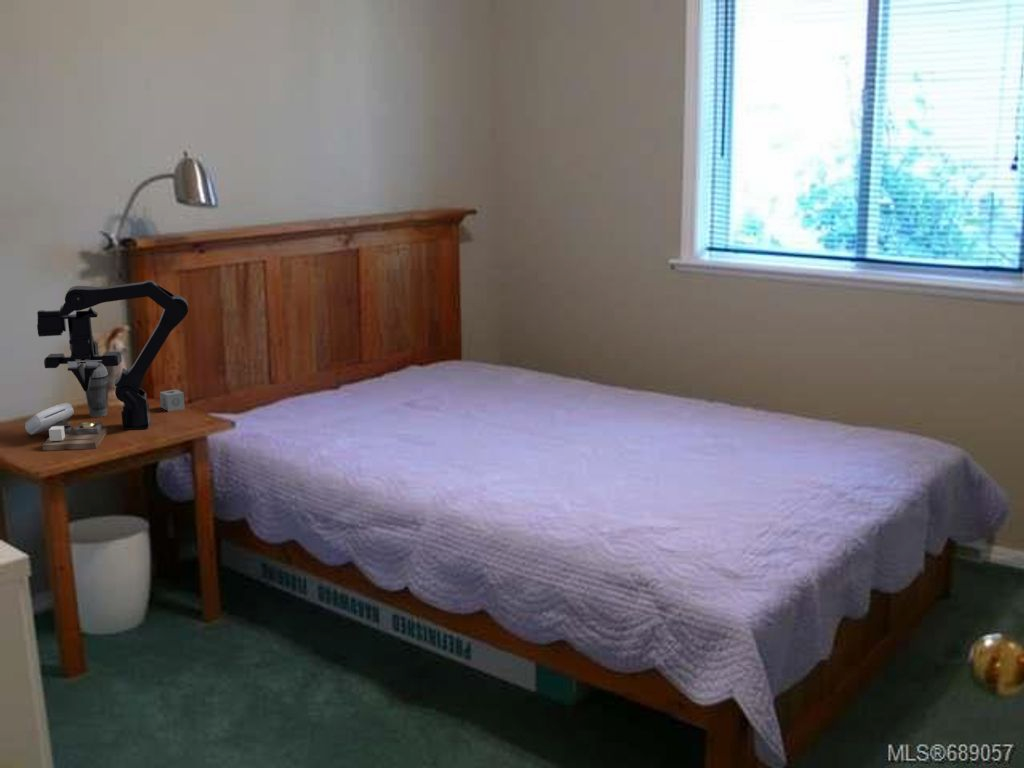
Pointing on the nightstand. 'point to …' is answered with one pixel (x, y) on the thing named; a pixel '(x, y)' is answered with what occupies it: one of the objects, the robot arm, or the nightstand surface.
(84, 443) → the control panel
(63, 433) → the slider knob
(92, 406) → the beverage cup
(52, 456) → the nightstand surface
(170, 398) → the dice cube
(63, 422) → the rocker switch
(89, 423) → the brass button
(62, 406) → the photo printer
